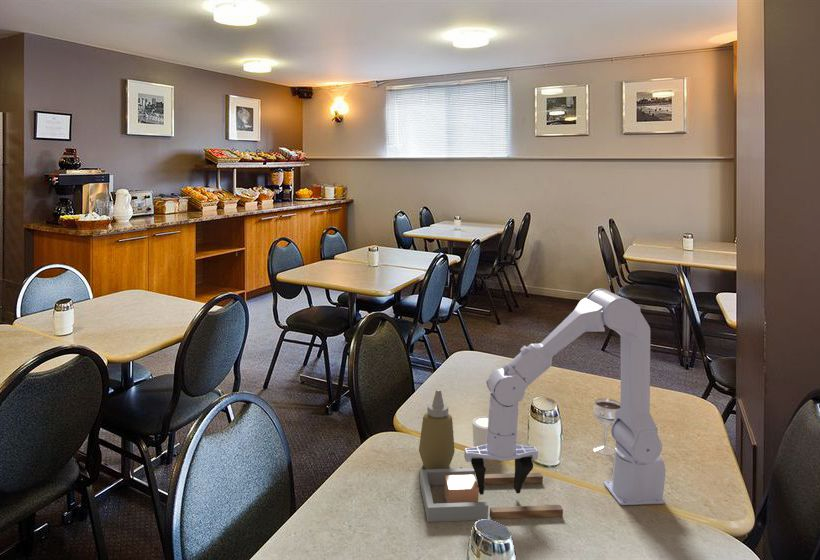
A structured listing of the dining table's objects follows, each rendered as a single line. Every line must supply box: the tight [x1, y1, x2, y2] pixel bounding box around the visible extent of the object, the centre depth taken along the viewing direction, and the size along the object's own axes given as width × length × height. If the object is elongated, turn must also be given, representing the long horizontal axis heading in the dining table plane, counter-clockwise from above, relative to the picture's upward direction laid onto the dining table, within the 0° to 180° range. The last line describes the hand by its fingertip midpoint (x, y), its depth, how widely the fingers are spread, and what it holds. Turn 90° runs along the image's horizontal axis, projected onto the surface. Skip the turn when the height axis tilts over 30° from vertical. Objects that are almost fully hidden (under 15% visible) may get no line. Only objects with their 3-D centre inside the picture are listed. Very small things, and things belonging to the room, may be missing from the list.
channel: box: [484, 472, 564, 520], centre depth 106 cm, size 14×13×2 cm
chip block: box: [443, 475, 480, 503], centre depth 105 cm, size 6×5×4 cm
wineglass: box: [592, 397, 621, 456], centre depth 125 cm, size 7×7×12 cm
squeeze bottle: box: [418, 389, 455, 469], centre depth 116 cm, size 8×8×18 cm
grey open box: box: [419, 467, 489, 523], centre depth 105 cm, size 12×13×3 cm
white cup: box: [471, 415, 489, 447], centre depth 125 cm, size 7×7×7 cm
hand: (498, 491), depth 106 cm, fingers open, 7 cm apart
